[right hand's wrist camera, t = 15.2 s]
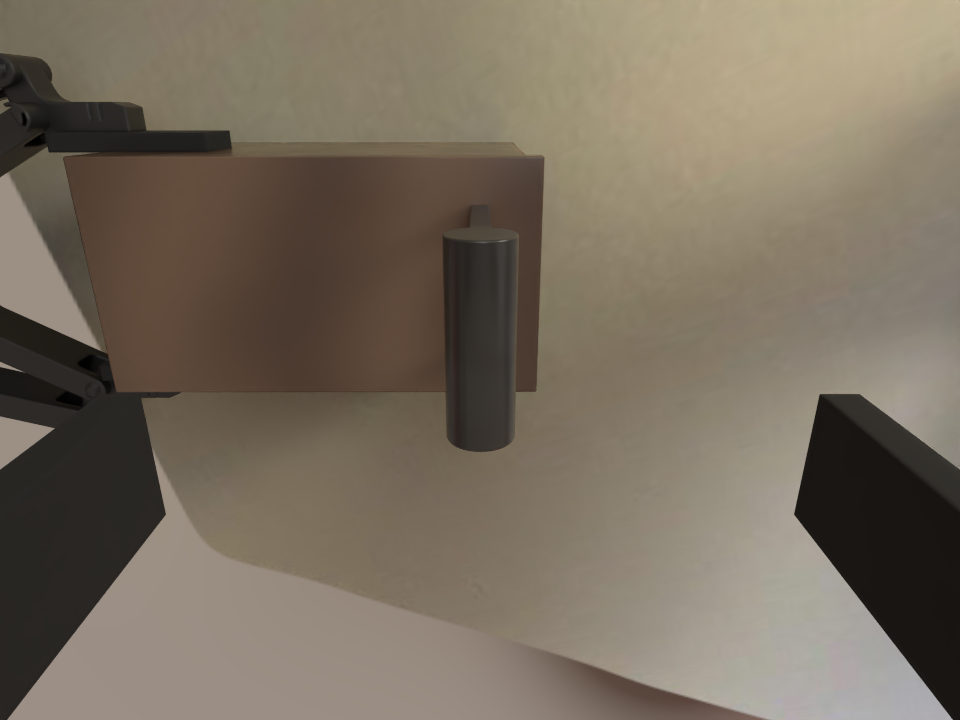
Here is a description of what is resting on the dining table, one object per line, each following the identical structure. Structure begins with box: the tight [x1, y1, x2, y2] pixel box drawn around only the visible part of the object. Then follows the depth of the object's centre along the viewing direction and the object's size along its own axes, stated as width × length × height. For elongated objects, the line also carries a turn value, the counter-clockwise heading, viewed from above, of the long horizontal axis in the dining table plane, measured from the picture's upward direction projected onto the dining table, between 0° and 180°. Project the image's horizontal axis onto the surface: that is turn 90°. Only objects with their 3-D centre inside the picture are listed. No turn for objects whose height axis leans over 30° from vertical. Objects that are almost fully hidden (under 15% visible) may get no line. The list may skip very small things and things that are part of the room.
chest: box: [83, 143, 525, 155], centre depth 30 cm, size 17×10×9 cm, turn 90°
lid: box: [63, 155, 544, 452], centre depth 22 cm, size 18×10×9 cm, turn 90°
